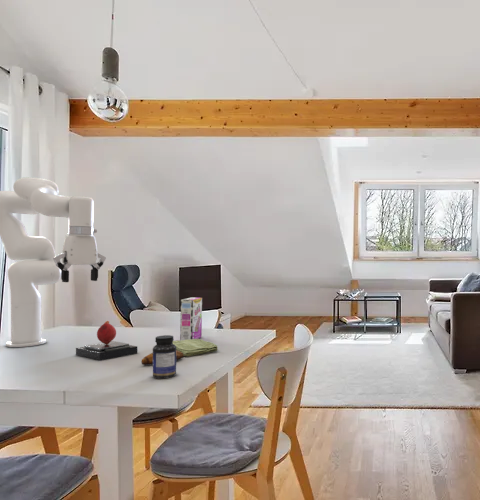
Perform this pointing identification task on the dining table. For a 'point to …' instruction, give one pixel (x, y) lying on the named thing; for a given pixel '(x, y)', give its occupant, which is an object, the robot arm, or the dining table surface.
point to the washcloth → (194, 347)
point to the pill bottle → (164, 357)
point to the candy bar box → (191, 318)
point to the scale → (106, 352)
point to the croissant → (149, 358)
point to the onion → (106, 333)
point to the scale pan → (105, 346)
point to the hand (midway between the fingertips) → (80, 281)
